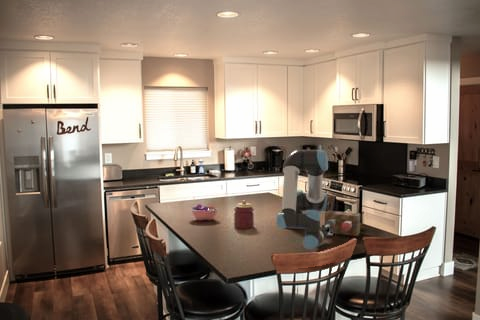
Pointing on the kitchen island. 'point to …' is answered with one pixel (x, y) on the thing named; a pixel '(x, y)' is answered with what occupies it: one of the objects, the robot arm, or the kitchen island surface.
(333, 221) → the graphite plug
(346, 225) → the red plug
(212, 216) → the cell model
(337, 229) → the walnut plug block
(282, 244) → the kitchen island surface
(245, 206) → the canister
